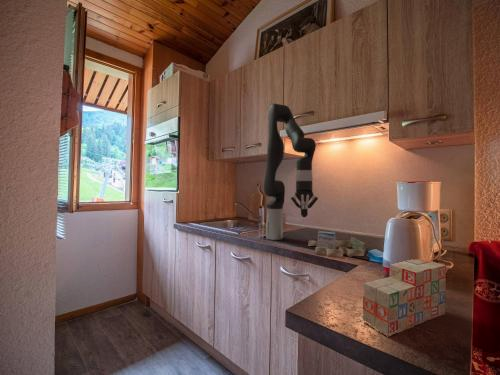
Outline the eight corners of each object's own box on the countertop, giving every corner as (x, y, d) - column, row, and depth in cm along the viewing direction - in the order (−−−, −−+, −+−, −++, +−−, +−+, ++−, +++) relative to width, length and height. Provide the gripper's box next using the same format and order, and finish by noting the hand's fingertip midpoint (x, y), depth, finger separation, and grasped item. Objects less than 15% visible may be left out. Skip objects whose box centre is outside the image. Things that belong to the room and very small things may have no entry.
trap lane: (318, 256, 106) (318, 245, 105) (308, 246, 122) (308, 236, 122) (368, 256, 106) (369, 245, 106) (352, 246, 123) (352, 236, 123)
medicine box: (317, 250, 116) (317, 232, 115) (319, 248, 119) (319, 230, 119) (334, 252, 112) (335, 233, 112) (336, 250, 116) (336, 232, 116)
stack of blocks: (388, 339, 50) (389, 279, 50) (362, 323, 55) (362, 269, 55) (445, 315, 59) (446, 264, 59) (418, 303, 65) (419, 257, 65)
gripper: (315, 180, 119) (315, 215, 119) (288, 180, 119) (288, 216, 119) (320, 180, 111) (320, 218, 112) (291, 180, 111) (291, 218, 111)
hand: (304, 216), depth 115 cm, fingers closed
